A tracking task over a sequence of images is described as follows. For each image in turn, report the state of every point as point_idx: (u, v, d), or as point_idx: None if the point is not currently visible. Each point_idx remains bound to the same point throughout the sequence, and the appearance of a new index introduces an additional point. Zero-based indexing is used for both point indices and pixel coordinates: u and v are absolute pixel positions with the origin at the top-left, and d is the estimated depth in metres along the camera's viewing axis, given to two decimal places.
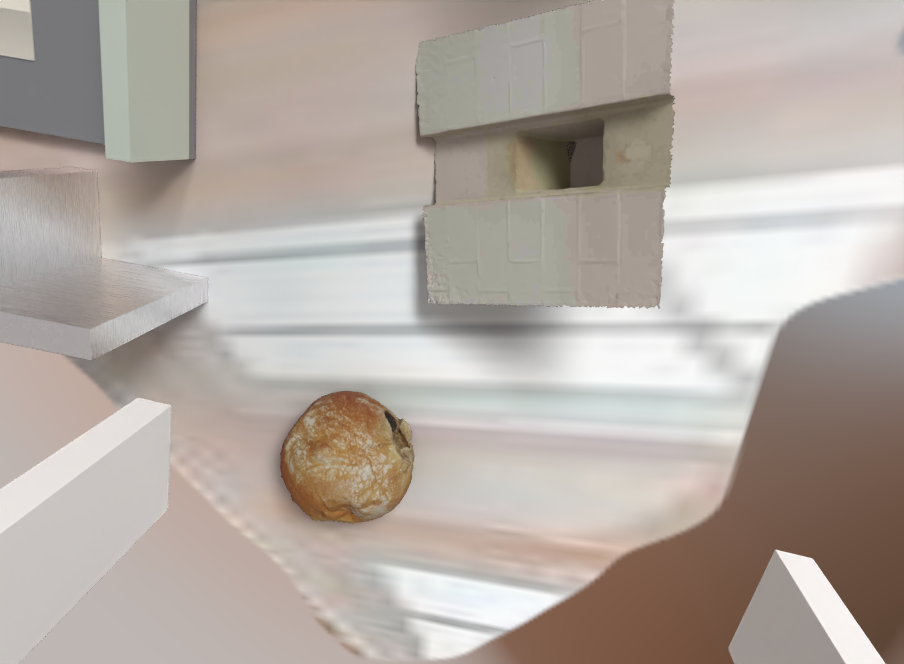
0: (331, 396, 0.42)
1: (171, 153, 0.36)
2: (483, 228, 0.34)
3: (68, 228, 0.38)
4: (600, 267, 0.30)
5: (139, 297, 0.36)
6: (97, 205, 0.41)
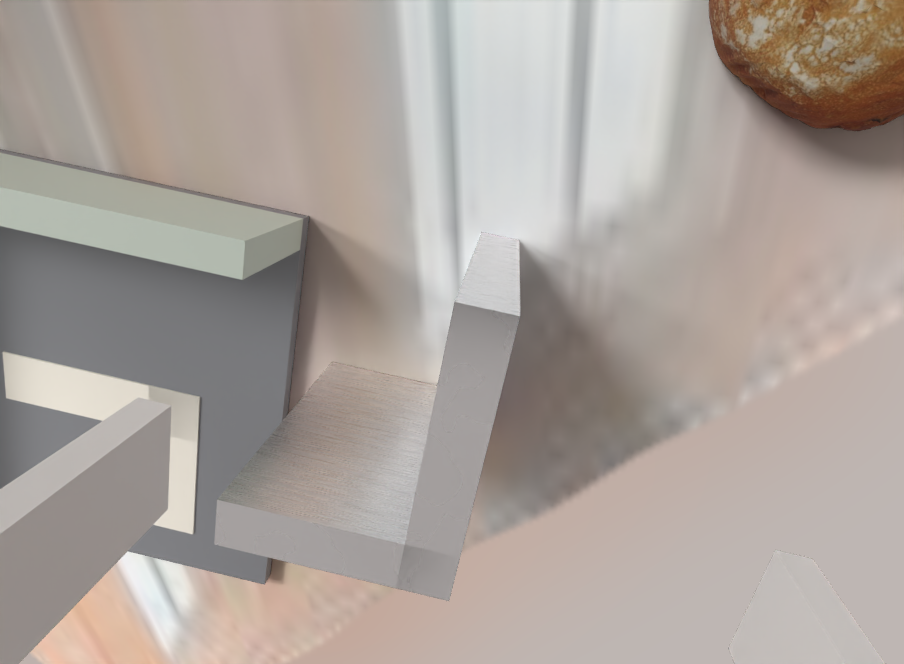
0: (714, 7, 0.21)
1: (277, 222, 0.25)
2: None
3: (387, 401, 0.27)
4: None
5: None
6: (375, 372, 0.29)
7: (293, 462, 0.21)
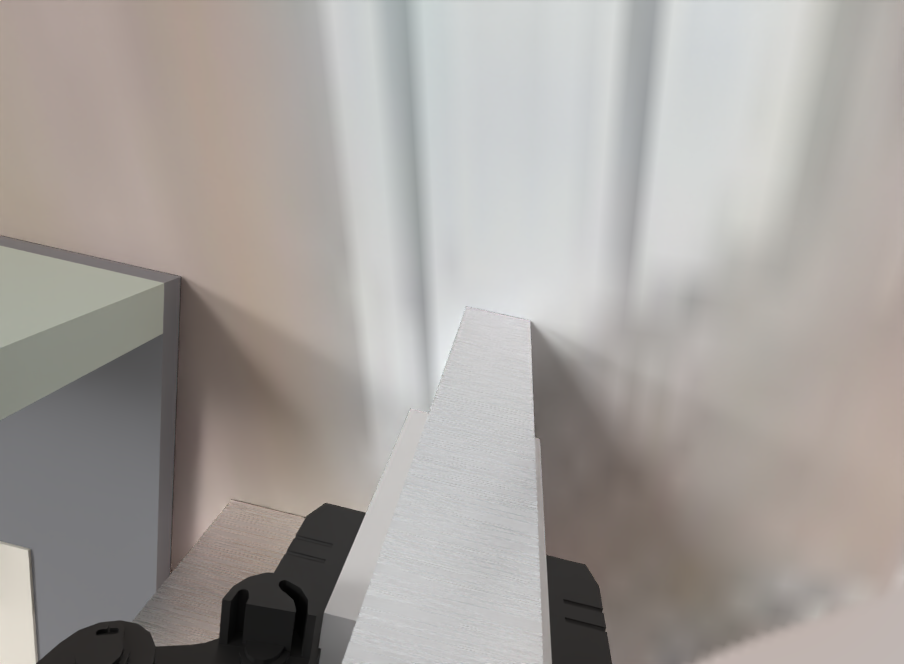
0: None
1: (98, 298, 0.14)
2: None
3: None
4: None
5: None
6: (299, 519, 0.18)
7: None
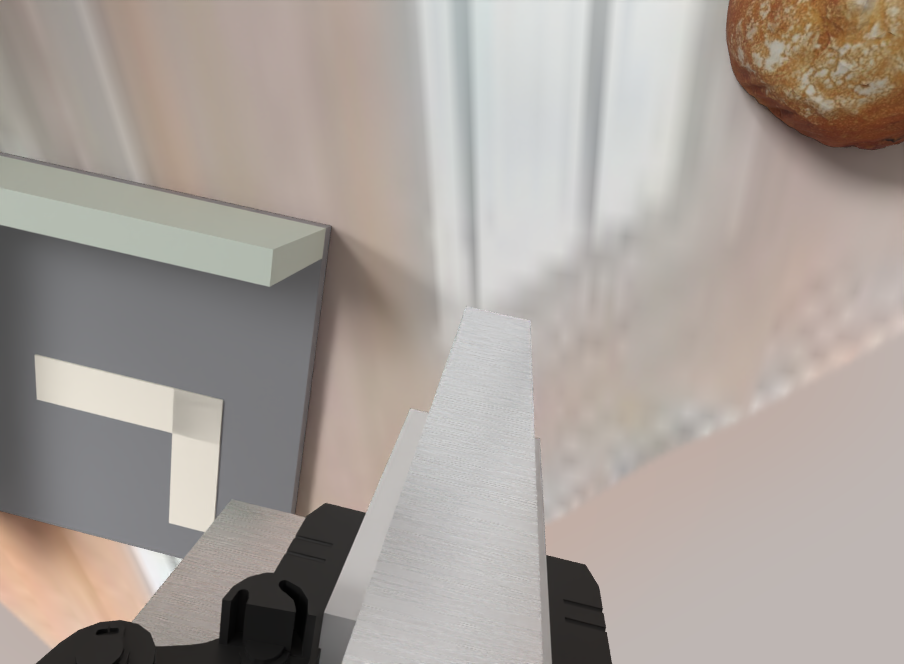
0: (731, 31, 0.22)
1: (301, 232, 0.26)
2: None
3: None
4: None
5: None
6: (299, 518, 0.19)
7: None
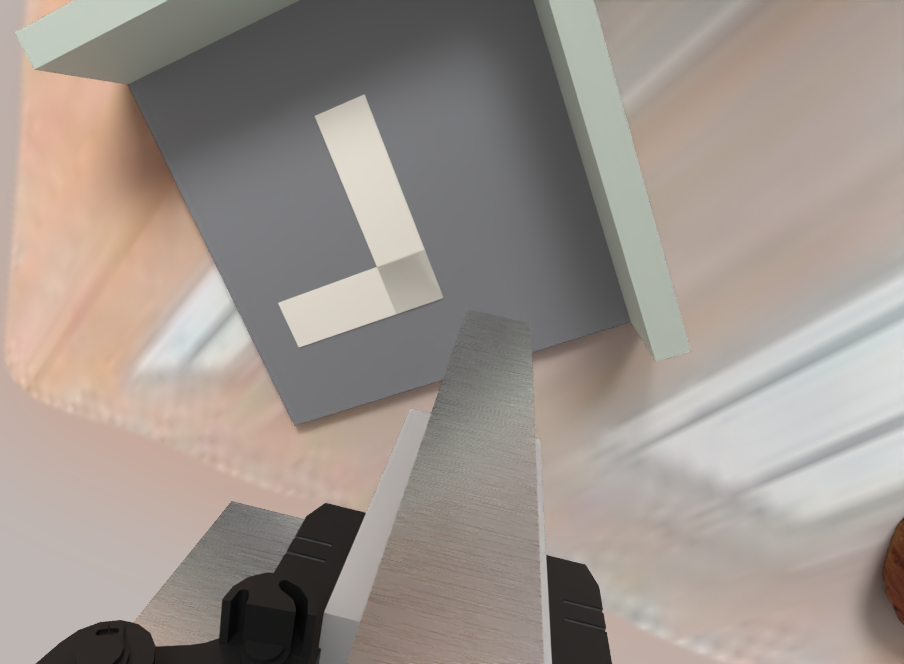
0: None
1: None
2: None
3: None
4: None
5: None
6: (299, 521, 0.18)
7: None
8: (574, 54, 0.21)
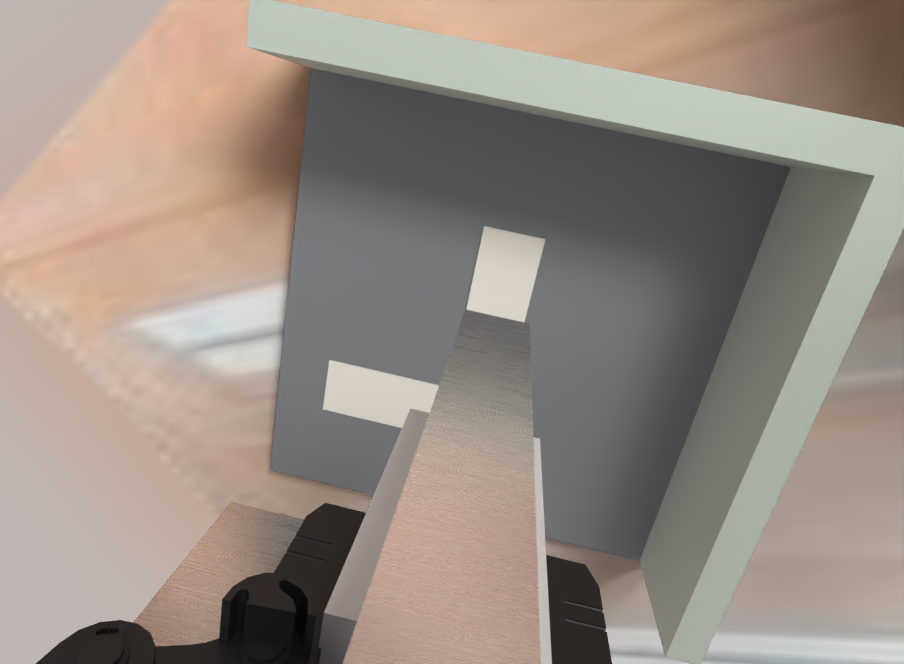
0: None
1: None
2: None
3: None
4: None
5: None
6: (298, 521, 0.18)
7: None
8: (789, 395, 0.20)
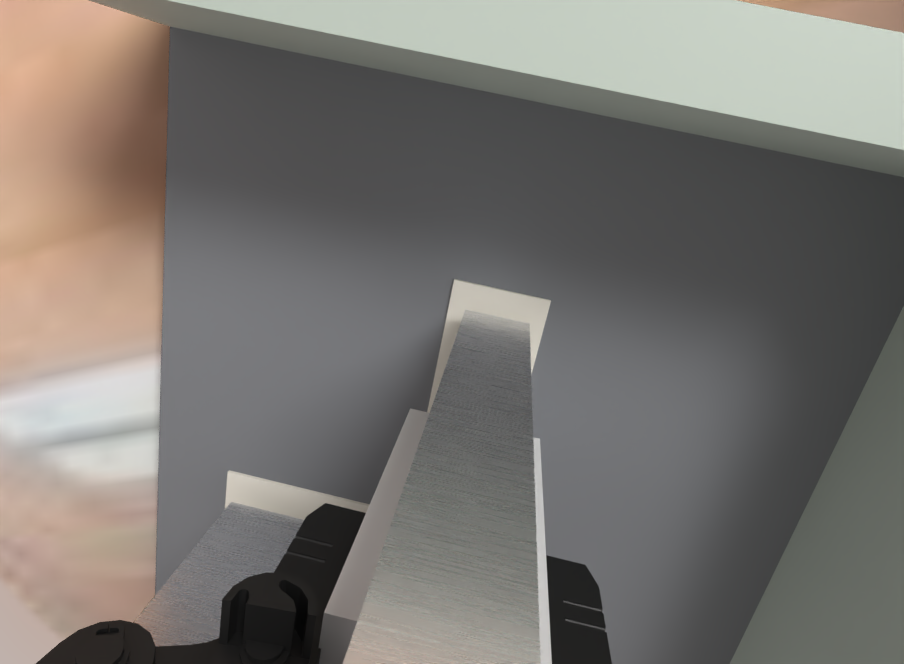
0: None
1: None
2: None
3: None
4: None
5: None
6: (299, 521, 0.18)
7: None
8: None
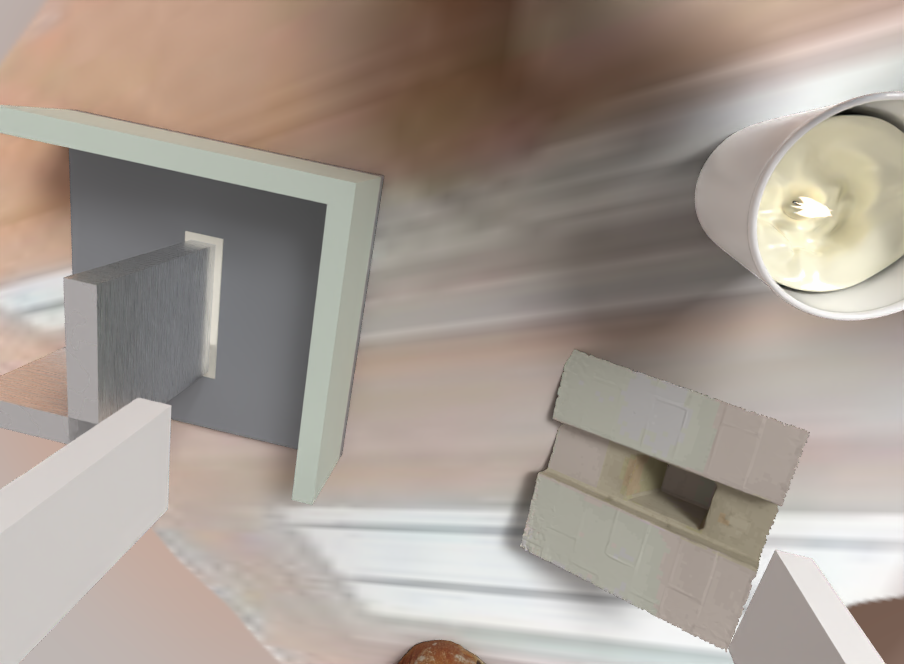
0: (432, 651, 0.49)
1: (331, 468, 0.43)
2: (589, 517, 0.41)
3: None
4: (685, 598, 0.38)
5: None
6: None
7: (30, 378, 0.35)
8: (317, 329, 0.35)
